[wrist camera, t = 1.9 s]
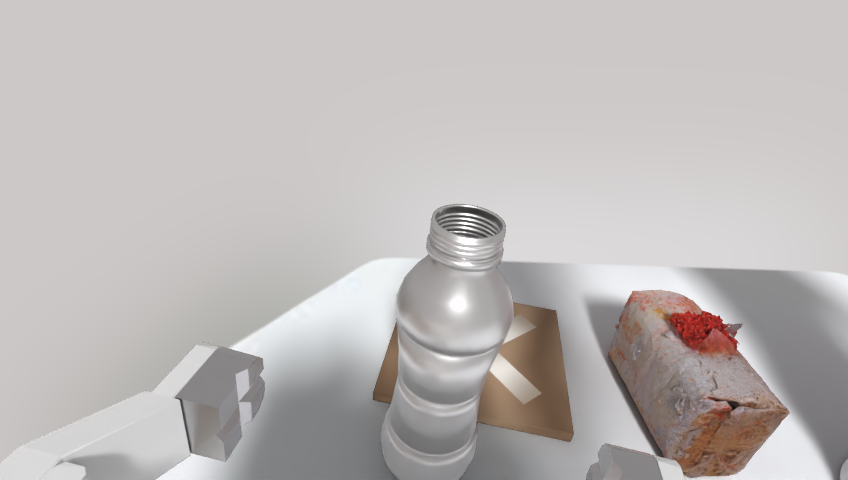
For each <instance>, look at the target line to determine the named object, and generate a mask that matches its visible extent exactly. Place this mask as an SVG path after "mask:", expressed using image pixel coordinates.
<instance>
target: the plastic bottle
mask: <svg viewBox="0 0 848 480" xmlns="http://www.w3.org/2000/svg"><path fill="white" fill-rule="evenodd" d="M505 227H506V225H505V222H504V221H503V220H502V218H500V217H499V216H498V215H497V214H495V213H493V212H491V211H489V210H487V209H484V208H481V207H477V206H473V205H465V204H453V205H446V206H443V207H440V208H438V209H437V210H436V211H435V212H434V213H433V216H432V219H431V227H430V234H429V235H428V238H427V245H426V246H427V247H426V248H427V252H428V255H427V256H426V257H425V258H423V259H422V260H421V261H420V262H418V263H417V264H416V265H415V267H414V268H413V269H412V270H411V271H410V272H409V273H408V274H407V275H406V277H405V278H404V280H403V282H402V284H401V286H400V288H399V290H398V293H397V298H396V316H397V318H396V320H397V333H398V346H399V356H398V375H397V381H396V385H395V389H394V393H393V397H392V401H391V404H390V406H389V408H388V410H387V413H386V416H385V419H384V422H383V425H382V429H381V444H382V450H383V456H384V459H385V462H386V464H387V466H388V468H389V469H390V471H391V472H392V473H393V474H394V475H395V476H396V477H397V478H398V479H399V480H458V479H459V478H460V477H461V476H462V475H463V474H464V472H465V471H466V469H467V468H468V466H469V464H470V463H471V461H472V460H473V457H474V454H475V451H476V440H477V422H476V421H477V415H478V408H479V402H480V395H481V393H482V390H483V387H484V384H485V381H486V379H487V376H488V373H489V370H490V368H491V366H492V364H493V362H494V360H495V358H496V356H497V354H498V352H499V350H500V348H501V346H502V345H503V343H504V340H505V338H506V337H507V334H508V332H509V329H510V327H511V324H512V322H513V319H514V309H513V298H512V295H511V291H510V289H509V287H508V285H507V283H506V281H505V279H504V277H503V276H502V274H501V272H500V271H499V269H498V268H497V265H498V264H499V263H500V262H501V260H502V255H503V241H504V236H505V230H506V229H505Z"/></svg>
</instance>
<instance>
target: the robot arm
mask: <svg viewBox="0 0 848 480" xmlns="http://www.w3.org/2000/svg"><path fill="white" fill-rule="evenodd" d="M263 369H264V367H263V359H262V358H260V357H257V356H253V355H249V354H246V353H242V352H239V351H235V350H232V349H228V348H224V347H220V346H216V345H212V344H209V343H205V342H201V343H199V344H197V345H196V346H194V348H192V350H191V351H190V352H189V353H188V354H187V355H186V356H185V357H184V358H183V359H182V360H181V361H180V362H179V363H178V364H177V365H176V367H175V368H174V369H173V370H172V371H171V372H170V373H169V374H168V375H167V376H166V377H165V378H164V379H163V380H162V381H161V382H160V384H159V385H158V386H157V387H156V388H155V389H154V390H153V391H152V392H150V391H143V392H141V393H139V394H137V395H134V396H132V397H130V398H128V399H125V400H123V401H121V402H119V403H116V404H114V405H112V406H110V407H107V408H105V409H103V410H101V411H99V412H96V413H94V414H91V415H89V416H87V417H85V418H83V419H80V420H78V421H76V422H73V423H71V424H69V425H66V426H64V427H62V428H60V429H58V430H56V431H53V432H51V433H49V434H46V435H44V436H42V437H39V438H37V439H35V440H33V441H30V442H28V443H26V444H24V445H21V446H20V447H18V448H17V449H16V450H15V451H14V452H13V453H12V454H11V455H10V456H8V457H7V458H6V459H5V460H4V461H3V462H2V463H1V464H0V480H155V479H157V478H158V477H160V476H161V475H163V474H164V473H166V472H167V471H169V470H170V469H171V468H173V467H174V466H176V465H177V464H179V463H180V462H182V461H183V460H185V459H186V458H188V457H189V456H190V455H191V454H190V453H192V454H196V455H200V456H204V457H209V458H213V459H217V460H221V461H225V462H226V461H227V459H228V458H229V456H230V454H231V453H232V451H233V450H234V448H235V447H236V445H237V444H238V442H239V440H240V439H241V437H242V432H241V426H243V425H245V424H247V423H249V422H250V421H252V420H253V418H254V417H255V415H256V413H257V412H258V410H259V407H260V405H261V402H262V400H263V396H264V390H265V383H264V380H263V379H262V378H261V377H260V373H261V372H262V370H263ZM598 457H599V462H598V463H595V464H593V465H591V467H590V469H589V471H588V473H587V476H586V480H685V477H684V475H683V472H682V469H681V466H680V465H679V464H678V462H677V461H675V460H671V459H667V458H663V457H659V456H655V455H650V454H648V453H644V452H640V451H636V450H631V449H627V448H623V447H619V446H615V445H610V444H604V445H603V446H602V447H601V448H600V450H599V452H598ZM840 480H848V459H846V460H845V462H844V463H843V465H842V467H841V471H840Z"/></svg>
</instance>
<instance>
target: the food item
mask: <svg viewBox="0 0 848 480" xmlns="http://www.w3.org/2000/svg"><path fill="white" fill-rule="evenodd" d="M624 307H625V310H624V311H623V313H622V315H621V317H620V319H619V321H620V323H619V325H616V326H615V327H616V328H617V331H616V333H615V337H614V340H613V343H612V346H611V349H610V351H609V353H608V354H609V357H610V359H611V360H612V362H613V363H614V365H615V367H616V368H617V371H618V373H619V375H620V376H621V378H622V380H623V381H624V383H625V384H626V387H627V389H628V391H629V393H630V395H631V397H632V398H633V400H634V402H635V403H636V405H637V408H638V410H639V412H640V414H641V415H642V417H643V419H644V421H645V423H646V425H647V427H648V429H649V431H650V433H651V435H652V436H653V437H654V439H655V441H656V443H657V445H658V447H659V448H660V449H661V451H662V453H663V456H664V458H667V459H671V460H675V461H677V462H678V464H679V465H680V466H681V469H682V472H683V475H684V476H687V477H690V478H693V477H700V476H729V475H733V474H737V473H738V472H740V471H741V470H742V469H744V468H745V466H746V464H747V463H748V462H749V460H750V459H751V458H752V456H753V455H754V454H755V452H756V451H757V450H759V449H760V447H761V446H762V445H763V443H764V442H765V441H766V440H767V439H768V438H769V436H770V435H771V434H772V433H773V432H774V431H775V430H776V428H777V427H778V426H779V425H780V423H781V421H782V420H783V419H785V418H786V417H787V415H788V414H789V411H788V409H787V408H786V407H785V406H784V405H783V404H782V403H781V402H780V401H779V400H778V398H777V397H776V396H775V395H774V394H773V393H772V392H771V391H770V389H769V388H768V386H767V385H766V383H765V382H764V381H763V379H762V378H761V377H760V376H759V375H758V374H757V373H756V371H755V370H754V369H753V368H752V367H751V366H750V364H749V363H748V362H747V360H746V359H745V358H744V357H743V356H742V354H741V353H740V352H739V351H738V350H737V343H738V342H737V340H736V339H735V338H734V337H735V335H736V334H737V330H738V329H739V328H741V326H742V325H743V324H734V325H732V324H726V325H725V324H723V323H722V321H723V320H722V319H720V316H715V315H712V314H711V313H709V312H705V311H702V310H701V309H700V308H699V307H698V306H697V305H696V304H695V303H694V301H693V300H690V299H688V298H687V297H685V296H683V295H680V294H678V293H675V292H670V291H664V290H647V291H632V294H631V295H630V297H629V299H628V301H627V303H626V304H625V306H624ZM740 325H741V326H740ZM728 326H730V327H728ZM738 344H739V343H738ZM739 345H740V344H739Z"/></svg>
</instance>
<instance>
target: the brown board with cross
mask: <svg viewBox="0 0 848 480" xmlns="http://www.w3.org/2000/svg"><path fill="white" fill-rule="evenodd" d="M513 309H514V319H513V322H512V324H511V327H510V329H509V332H508V334H507V337H506V338H505V340H504V343H503V345H502V346H501V348H500V350H499V352H498V354H497V356H496V358H495V360H494V362H493V364H492V366H491V368H490V370H489V373H488V376H487V379H486V381H485V384H484V387H483V390H482V393H481V395H480V402H479V408H478V415H477V421H476V422H480V423H484V424H489V425H494V426H498V427H503V428H508V429H512V430H517V431H522V432H527V433H531V434H536V435H541V436H545V437H550V438H555V439H559V440H564V441H569V442H570V441H571V439H572V437H573V434H574V432H573V425H572V418H571V411H570V404H569V397H568V390H567V383H566V377H565V370H564V363H563V356H562V349H561V342H560V335H559V328H558V321H557V314H556V311H555V310H550V309H545V308H539V307H534V306H529V305H523V304H518V303H513ZM398 356H399V346H398V333H397V322H396V325H395V328H394V331H393V334H392V337H391V340H390V343H389V346H388V349H387V352H386V355H385V358H384V361H383V364H382V367H381V370H380V374H379V377H378V380H377V383H376V386H375V389H374V392H373V400H376V401H381V402H385V403H390V404H391V401H392V397H393V393H394V389H395V385H396V381H397V375H398Z"/></svg>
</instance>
